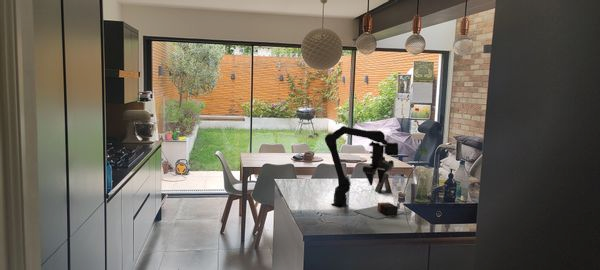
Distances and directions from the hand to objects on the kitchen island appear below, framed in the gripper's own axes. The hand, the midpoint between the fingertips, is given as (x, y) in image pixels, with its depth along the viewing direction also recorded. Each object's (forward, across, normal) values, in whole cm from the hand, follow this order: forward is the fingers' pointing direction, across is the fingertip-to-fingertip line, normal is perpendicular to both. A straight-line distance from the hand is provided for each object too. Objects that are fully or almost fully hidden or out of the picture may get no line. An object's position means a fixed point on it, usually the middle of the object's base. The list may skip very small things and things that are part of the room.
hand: (375, 183), depth 227 cm
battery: (+10, -7, -14) cm, 19 cm away
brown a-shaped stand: (+13, +37, +17) cm, 43 cm away
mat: (+13, -6, -6) cm, 15 cm away
